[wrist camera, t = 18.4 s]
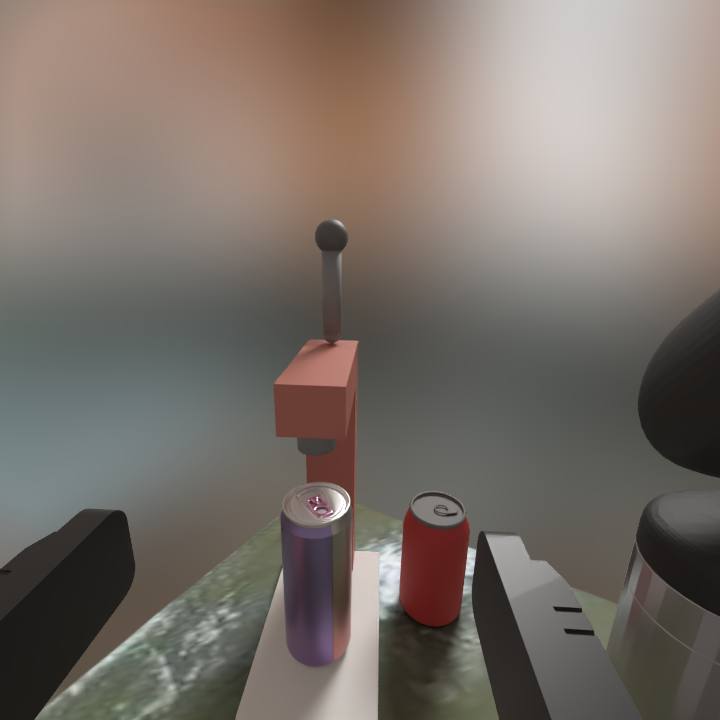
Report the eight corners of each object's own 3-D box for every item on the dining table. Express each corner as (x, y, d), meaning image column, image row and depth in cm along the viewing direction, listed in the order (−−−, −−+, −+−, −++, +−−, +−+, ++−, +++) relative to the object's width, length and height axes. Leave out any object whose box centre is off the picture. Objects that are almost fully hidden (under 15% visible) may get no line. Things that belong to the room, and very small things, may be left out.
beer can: (462, 637, 38) (474, 535, 35) (395, 623, 39) (401, 524, 36) (459, 582, 44) (469, 492, 41) (402, 572, 45) (407, 483, 42)
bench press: (379, 562, 47) (392, 221, 36) (376, 746, 30) (401, 197, 19) (289, 557, 47) (275, 219, 36) (235, 734, 30) (179, 194, 19)
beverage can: (300, 686, 32) (294, 536, 28) (277, 626, 37) (270, 491, 33) (362, 651, 35) (366, 510, 31) (333, 600, 40) (333, 473, 36)
